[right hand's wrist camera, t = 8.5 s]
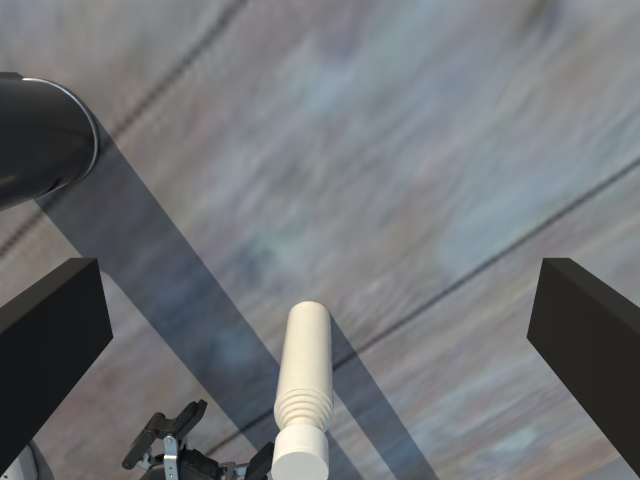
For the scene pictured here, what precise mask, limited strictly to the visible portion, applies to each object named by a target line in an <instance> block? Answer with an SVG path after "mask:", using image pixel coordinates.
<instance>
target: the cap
mask: <svg viewBox="0 0 640 480" xmlns="http://www.w3.org/2000/svg"><path fill="white" fill-rule="evenodd" d="M271 473H272V477H273V479H274V480H327V479H328V475H329V452H328V440H327V438H326V436H325V434H324V433H323V432H322V431H321V430H320V429H318V428H316V427H314V426H312V425H308V424H294V425H291V426H288V427H286V428H285V429H283V430H282V431H281V432H280V433H279V434H278V436H277V438H276V441H275V448H274V455H273V463H272V470H271Z"/></svg>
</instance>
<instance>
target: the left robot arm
mask: <svg viewBox="0 0 640 480" xmlns="http://www.w3.org/2000/svg"><path fill="white" fill-rule="evenodd" d="M99 150H100V139H99V133H98V129H97V126H96V123H95V121H94V118H93V116H92V115H91V113H90V111H89V110H88V108H87V107H86V106H85V104H84V103H83V102H82V101H81V100H80V99H79V98H78V97H77V96H76V95H75V94H74V93H72V92H71V91H70V90H68V89H67V88H65V87H63V86H61V85H59V84H57V83H55V82H52V81H48V80H44V79H35V78H28V79H26V78H24V77H22V76H21V75H19V74H18V73H16V72H0V212H1V211H4V210H6V209H9V208H11V207H13V206H16V205H18V204H21V203H23V202H26V201H28V200H31V199H33V198H36V197H38V196H41V195H43V194H45V195H47V194H49V193H51V192H53V191H55V190H56V189H58V188H60V187H64V186H68V185H71V184H74V183H76V182H78V181H80V180H82V179H83V178H85V177H86V176H87V175H88V174H89V173H90V172H91V171H92V169H93V168H94V166H95V164H96V162H97V159H98V156H99ZM48 192H49V193H48ZM46 193H47V194H46ZM45 195H43V196H42V197H44V196H45ZM42 197H40V198H42ZM40 198H38V199H40ZM38 199H36V200H38ZM34 201H35V200H34ZM206 406H207V402H205V401H204V400H202V399H201V400H200V401H199V402H198V403H196V402H195V401H194V402H191V403H189V404H188V406H187V407H186V408H185V409H184V410H183V411H182V412H181V413H180V414H179V416H178V417H177V418H174V419H172V420H170V419H166V418H165V415H164V414H162V413H159V412H158V413H155V414H154V415H153V417H152V418H151V419H150V421H149V422H148V423H147V425H146V426H145V427H144V429H143V430H142V431H141V433H140V434H139V435H138V437H137V438H136V439H135V441H134V442H133V443H132V445H131V447H130V449H129V451H128V453H127V455H126V457H125V459H124V461H123V462H122V466H123V468H125V469H128V470H130V469H133V468H134V466H135V465H137V466H139V467H141V468H143V469H145V470H147V472H146V473H145V474H144V475H143V476H142V478H141V479H140V480H221V476H224V475H226V478H225V480H237V478H238V477H240V476H245V478H244V479H243V480H268V477H267V475H266V474H267V473H268V472H269V471H270V470H271V469H272V463H273V455H274V448H275V444H273V443H272V442H269V443H267V444H266V445H265V446H264V447H263V448H262V449H261V450H260V451H259V452H258V453H257V454H256V455H255V456H254V457H253V458H252V459H251V460H250V463H244V464H238V465H236V464H235V462H227V463H221V464H218V462H216V461H215V460H213V459H210V458H207V457H205V456H204V455H203V454H202V453H201V452H199V451H197V450H196V449H193V450H188V443H187V434H188V433H189V431H190V430H191V429H192V428H193V427H194V426H195V425H196V424H197V423H198V422H199V421H200V420H201V418H202V417H203V415H204V412H205V409H206ZM156 438H159V439H163V443H164V450H165V454H160V455H157V456H155V457H153V456H152V455H151V452H152V448H151V447H150V446H151V444H152V443H153V442H154V440H155V439H156Z"/></svg>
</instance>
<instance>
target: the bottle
mask: <svg viewBox="0 0 640 480" xmlns="http://www.w3.org/2000/svg"><path fill="white" fill-rule="evenodd" d="M333 414H334V401H333V367H332V334H331V316H330V314H329V312H328V310H327V309H326V308H325V307H324V306H322V305H321V304H319V303H316V302H311V301H307V302H302V303H299V304H297V305H296V306H294V307H293V308H292V309H291V311H290V312H289V315H288V320H287V326H286V333H285V339H284V346H283V352H282V359H281V366H280V372H279V379H278V385H277V392H276V398H275V405H274V415H275V421H276V423H277V425H278V427H279V429H280V431H282V430H283V429H285V428H286V427H288V426H291V425H294V424H308V425H312V426H314V427H316V428H318V429H320V430H321V431H322V432H323V433H325V432H326V430H327V429H328V427H329V426H330V424H331V422H332V418H333Z"/></svg>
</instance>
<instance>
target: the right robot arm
mask: <svg viewBox="0 0 640 480" xmlns="http://www.w3.org/2000/svg"><path fill="white" fill-rule="evenodd" d="M112 339H113V334H112V329H111V324H110V319H109V314H108V309H107V305H106V300H105V295H104V290H103V285H102V281H101V276H100V271H99V266H98V261H97V258H70V259H68V260H67V261H66V262H64V263H63V264H61V265H60V266H59V267H57V268H56V269H54V270H53V271H52V272H50V273H49V274H47V275H46V276H45V277H43V278H42V279H40V280H39V281H38V282H36V283H35V284H33V285H32V286H30V287H29V288H28V289H26V290H25V291H23V292H22V293H21V294H19V295H18V296H16V297H15V298H14V299H12V300H11V301H9V302H8V303H7V304H5V305H4V306H2V307H1V308H0V478H1V477H2V475H3V474H4V473H5V472H6V470H7V469H8V468H9V467H10V465H11V464H12V463H13V462H14V461H15V459H16V458H17V457H18V456H19V454H20V453H21V452H22V451H23V449H24V448H25V447H26V446H27V444H28V443H29V442H30V441H31V439H32V438H33V437H34V436H35V434H36V433H37V432H38V431H39V429H40V428H41V427H42V426H43V424H44V423H45V422H46V421H47V420H48V418H49V417H50V416H51V415H52V413H53V412H54V411H55V410H56V408H57V407H58V406H59V405H60V403H61V402H62V401H63V400H64V398H65V397H66V396H67V395H68V393H69V392H70V391H71V390H72V388H73V387H74V386H75V385H76V383H77V382H78V381H79V380H80V379H81V377H82V376H83V375H84V374H85V372H86V371H87V370H88V369H89V367H90V366H91V365H92V364H93V362H94V361H95V360H96V359H97V357H98V356H99V355H100V354H101V352H102V351H103V350H104V349H105V347H106V346H107V345H108V344H109V342H110V341H111V340H112ZM527 339H528V340H529V341H530V342H531V344H532V345H533V346H534V347H535V349H536V350H537V351H538V352H539V354H540V355H541V356H542V357H543V359H544V360H545V361H546V362H547V364H548V365H549V366H550V367H551V369H552V370H553V371H554V372H555V374H556V375H557V376H558V377H559V379H560V380H561V381H562V382H563V383H564V385H565V386H566V387H567V388H568V390H569V391H570V392H571V393H572V395H573V396H574V397H575V398H576V400H577V401H578V402H579V403H580V405H581V406H582V407H583V408H584V410H585V411H586V412H587V413H588V415H589V416H590V417H591V418H592V420H593V421H594V422H595V423H596V424H597V426H598V427H599V428H600V429H601V431H602V432H603V433H604V434H605V436H606V437H607V438H608V439H609V441H610V442H611V443H612V444H613V446H614V447H615V448H616V449H617V451H618V452H619V453H620V454H621V456H622V457H623V458H624V459H625V461H626V462H627V463H628V464H629V465H630V467H631V468H632V469H633V470H634V472H635V473H636V474H637V475H638V477H639V478H640V308H639V307H638V306H636V305H635V304H633V303H632V302H631V301H629V300H628V299H626V298H625V297H624V296H622V295H621V294H619V293H618V292H617V291H615V290H614V289H612V288H611V287H610V286H608V285H607V284H605V283H604V282H602V281H601V280H600V279H598V278H597V277H595V276H594V275H593V274H591V273H590V272H588V271H587V270H586V269H584V268H583V267H581V266H580V265H579V264H577V263H576V262H574V261H573V260H571V259H570V258H543V261H542V266H541V271H540V276H539V281H538V285H537V290H536V295H535V300H534V305H533V309H532V314H531V319H530V324H529V329H528V334H527Z"/></svg>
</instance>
